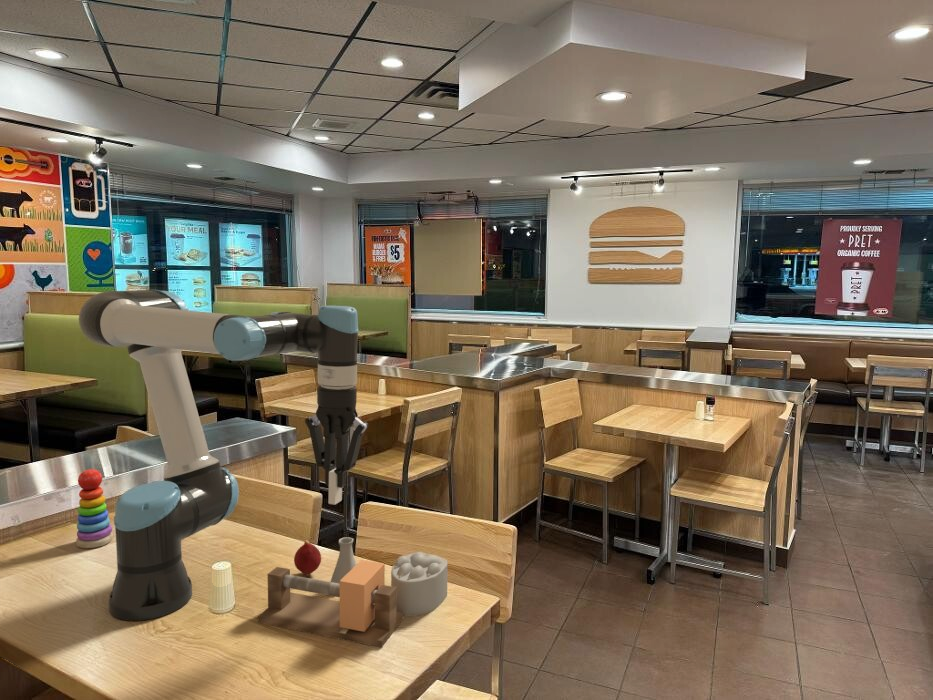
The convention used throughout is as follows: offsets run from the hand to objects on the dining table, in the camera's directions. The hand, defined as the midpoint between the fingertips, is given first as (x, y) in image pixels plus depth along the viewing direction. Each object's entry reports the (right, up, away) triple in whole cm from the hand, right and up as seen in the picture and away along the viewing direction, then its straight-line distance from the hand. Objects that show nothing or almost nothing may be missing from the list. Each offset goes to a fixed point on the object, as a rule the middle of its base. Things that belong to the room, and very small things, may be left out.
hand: (335, 501), depth 124 cm
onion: (-9, -20, +15) cm, 27 cm away
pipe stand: (0, -22, -3) cm, 23 cm away
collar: (+6, -21, -5) cm, 22 cm away
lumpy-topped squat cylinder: (+16, -22, +5) cm, 28 cm away
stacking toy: (-66, -18, +30) cm, 74 cm away
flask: (0, -21, +12) cm, 24 cm away
